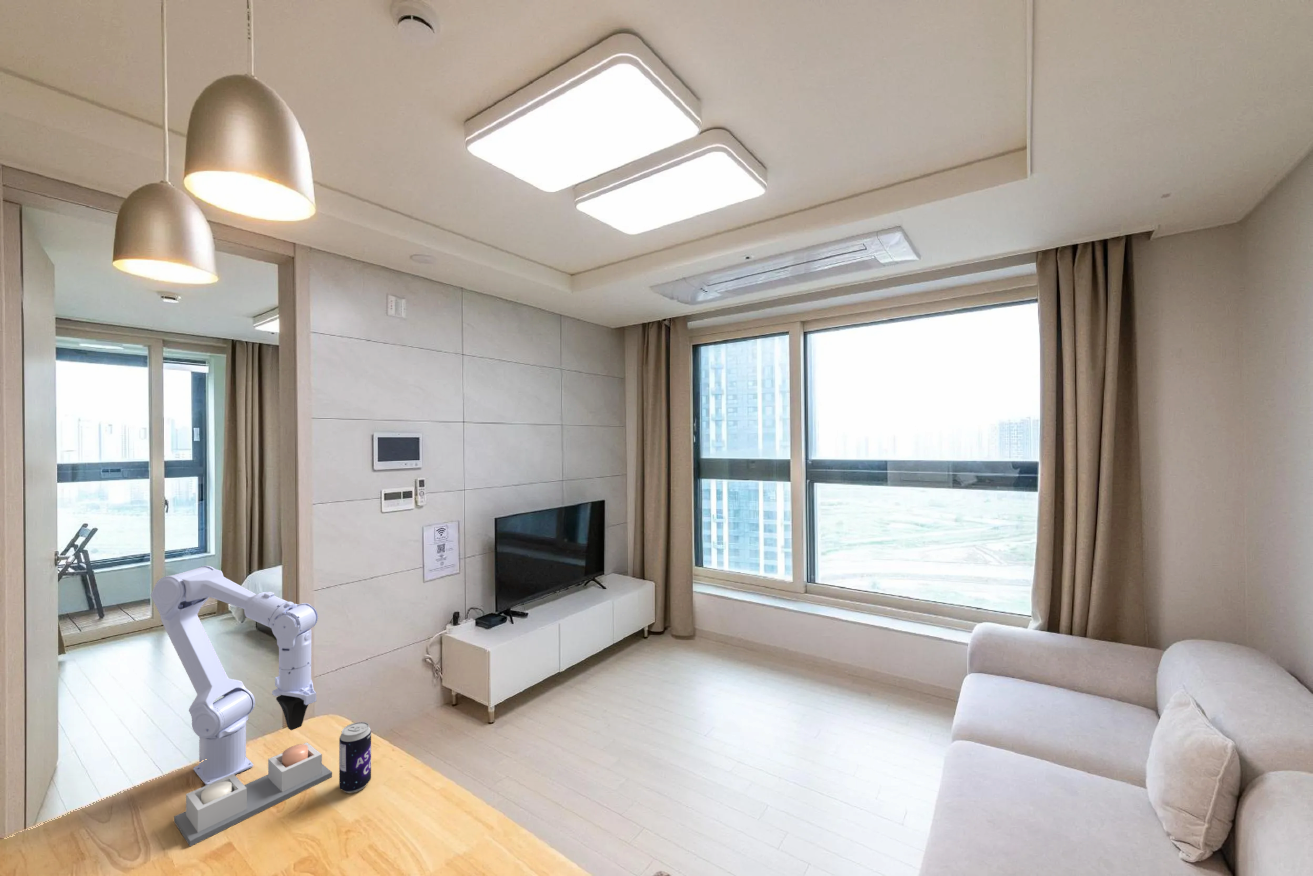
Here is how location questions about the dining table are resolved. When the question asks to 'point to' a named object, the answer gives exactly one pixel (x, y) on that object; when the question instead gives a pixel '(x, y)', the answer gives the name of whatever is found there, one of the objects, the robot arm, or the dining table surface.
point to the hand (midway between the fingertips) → (294, 727)
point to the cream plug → (215, 791)
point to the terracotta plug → (294, 754)
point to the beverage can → (354, 757)
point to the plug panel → (249, 796)
